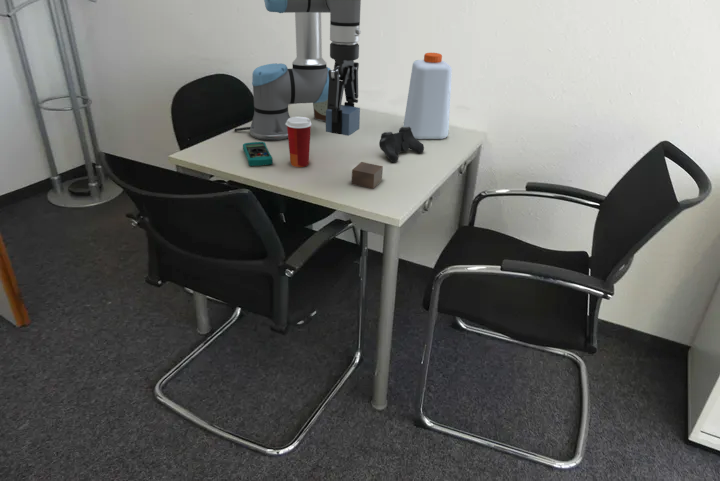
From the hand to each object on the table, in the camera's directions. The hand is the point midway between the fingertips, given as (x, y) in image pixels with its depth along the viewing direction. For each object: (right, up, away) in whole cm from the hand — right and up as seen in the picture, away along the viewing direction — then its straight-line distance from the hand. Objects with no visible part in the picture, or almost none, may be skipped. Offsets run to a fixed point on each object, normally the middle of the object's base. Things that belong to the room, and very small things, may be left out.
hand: (342, 129), depth 146 cm
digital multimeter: (-28, -5, +20) cm, 35 cm away
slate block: (0, 0, 0) cm, 0 cm away
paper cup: (-14, -7, +17) cm, 24 cm away
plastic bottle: (+29, +8, +47) cm, 56 cm away
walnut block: (+7, -14, +7) cm, 17 cm away
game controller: (+18, -3, +28) cm, 33 cm away
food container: (-7, +16, +57) cm, 60 cm away
